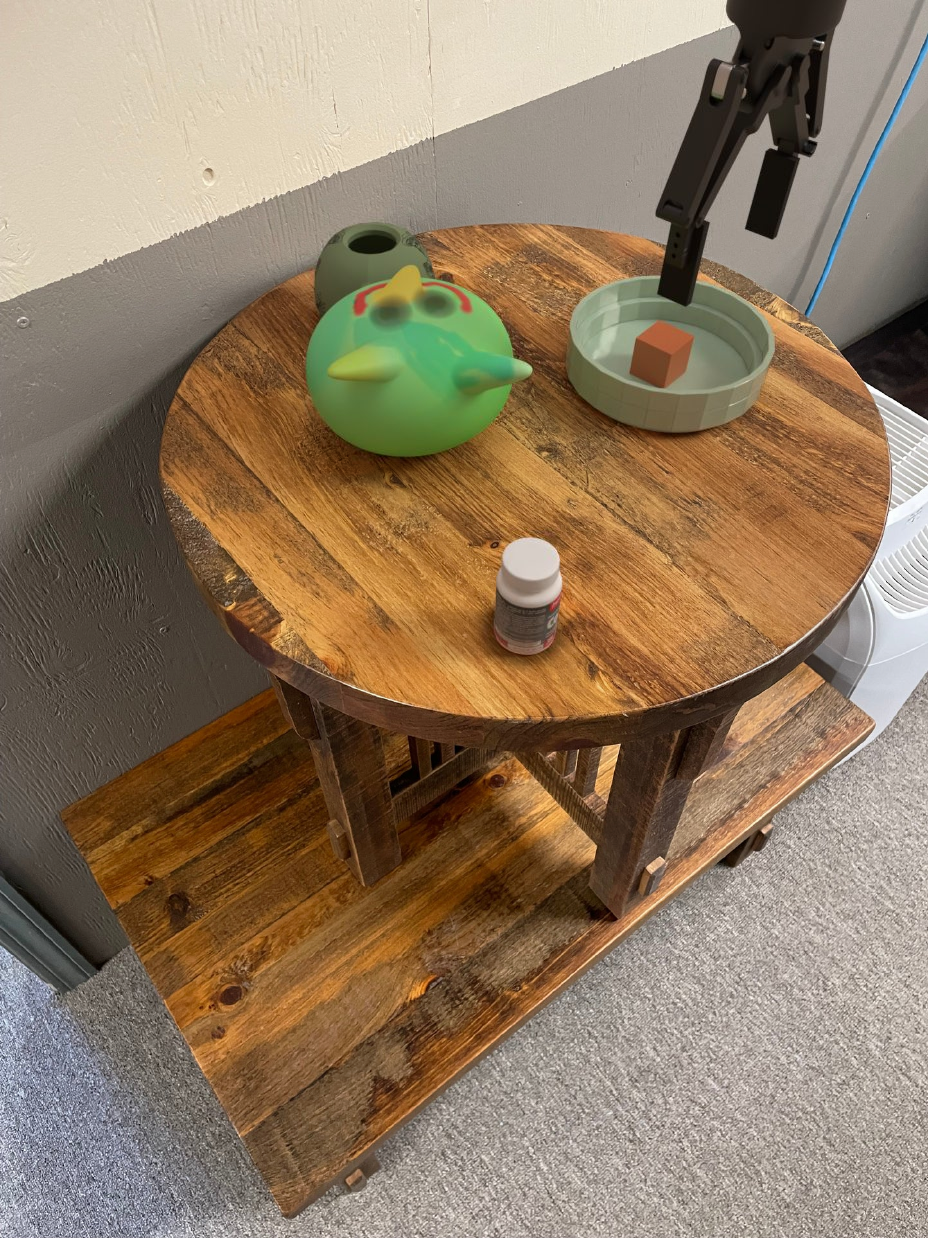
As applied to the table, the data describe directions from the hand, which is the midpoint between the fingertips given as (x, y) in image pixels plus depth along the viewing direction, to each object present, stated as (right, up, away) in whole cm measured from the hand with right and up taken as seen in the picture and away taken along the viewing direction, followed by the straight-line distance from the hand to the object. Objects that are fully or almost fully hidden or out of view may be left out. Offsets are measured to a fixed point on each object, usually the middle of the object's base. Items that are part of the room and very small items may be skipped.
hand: (719, 264), depth 71 cm
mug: (-30, +1, +20) cm, 36 cm away
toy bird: (-26, -12, +9) cm, 30 cm away
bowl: (-1, -5, +14) cm, 15 cm away
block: (-2, -5, +13) cm, 14 cm away
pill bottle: (-16, -30, -5) cm, 35 cm away
